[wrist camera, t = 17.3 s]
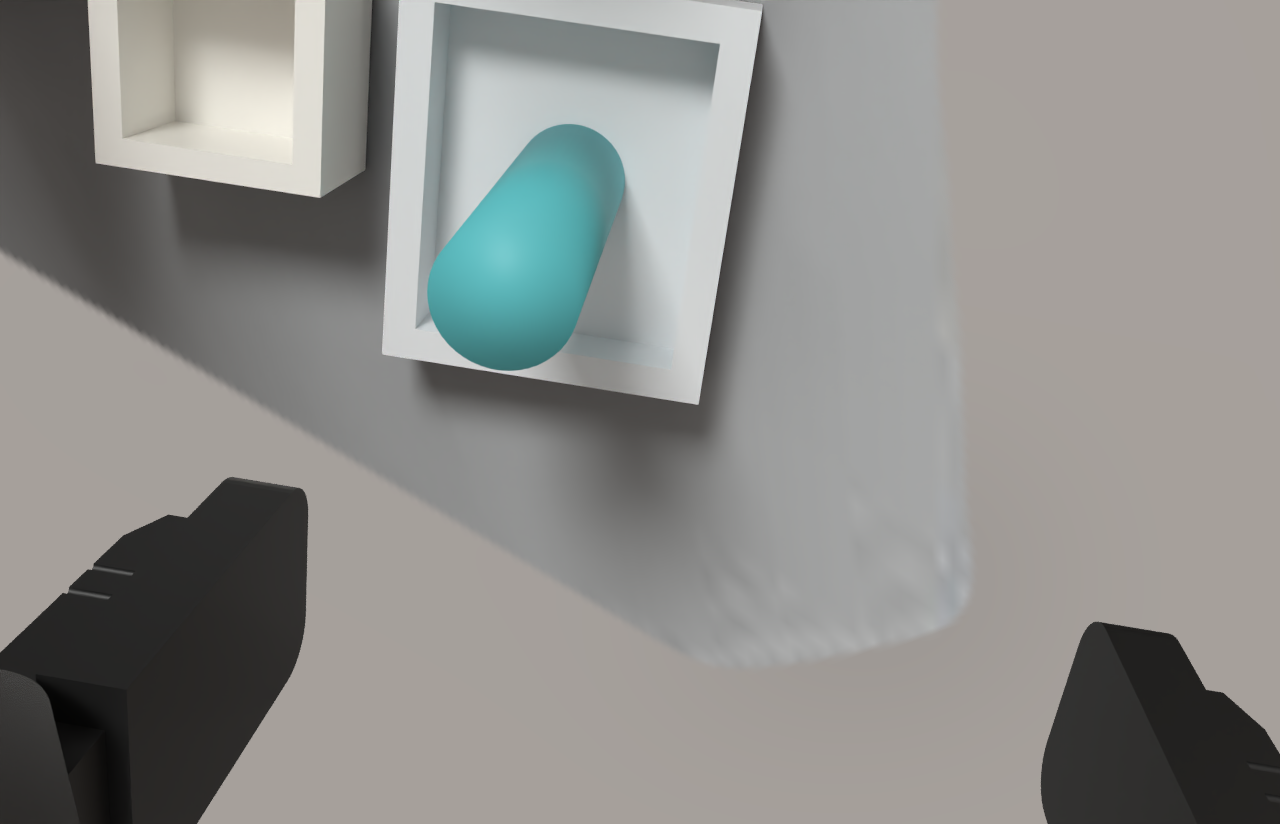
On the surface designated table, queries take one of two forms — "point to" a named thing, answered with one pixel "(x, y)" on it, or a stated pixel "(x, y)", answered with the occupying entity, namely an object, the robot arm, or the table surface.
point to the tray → (609, 104)
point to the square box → (233, 89)
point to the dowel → (529, 251)
